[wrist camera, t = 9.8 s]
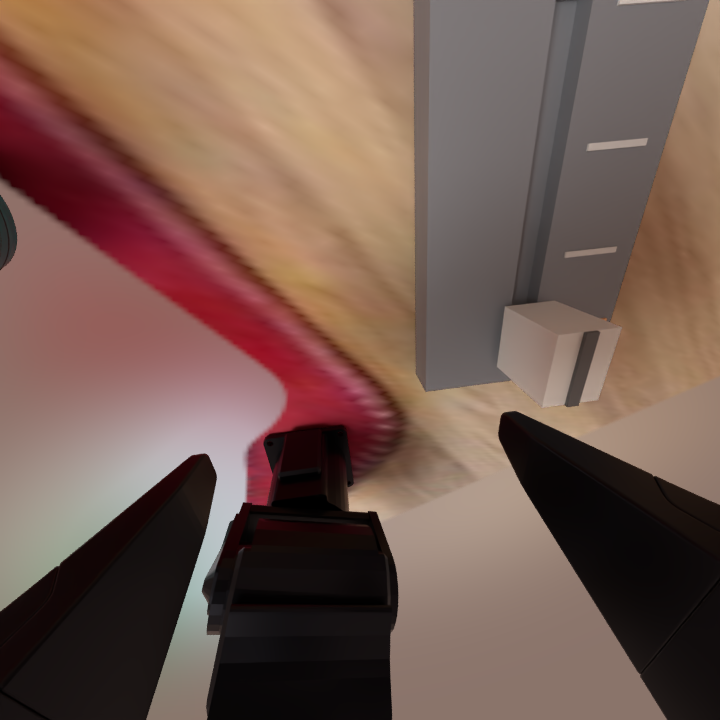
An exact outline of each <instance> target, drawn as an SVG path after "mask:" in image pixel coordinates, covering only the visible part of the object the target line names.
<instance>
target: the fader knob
mask: <svg viewBox="0 0 720 720" xmlns="http://www.w3.org/2000/svg"><path fill="white" fill-rule="evenodd" d="M621 329H622V327H621V326H618V325H616V324H613V323H610V322H608V321H605V320H603V319H600V318H598V317H595V316H593V315H590V314H588V313H585V312H582V311H580V310H577V309H575V308H572V307H570V306H567V305H565V304H562V303H559V302H557V301H546V302H538V303H530V304H522V305H513V306H505V310H504V317H503V325H502V332H501V339H500V347H499V354H498V362H497V367H498V368H499V369H500V370H501V371H502V372H503V373H504V374H505V375H506V376H508V377H509V378H510V379H511V380H512V381H513V382H514V383H515V384H516V385H517V386H518V387H519V388H521V389H522V390H523V391H524V392H525V393H526V394H527V395H528V396H529V397H530V398H531V399H533V400H534V401H535V402H536V403H537V404H538V405H539V406H540V407H541V408H545V407H552V406H559V405H565V406H566V407H572V406H579V403H581V402H588V401H596V400H598V399H599V396H600V393H601V390H602V387H603V384H604V381H605V378H606V375H607V372H608V369H609V366H610V363H611V360H612V357H613V354H614V351H615V348H616V345H617V342H618V339H619V335H620V332H621Z"/></svg>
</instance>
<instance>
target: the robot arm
mask: <svg viewBox="0 0 720 720" xmlns="http://www.w3.org/2000/svg"><path fill="white" fill-rule="evenodd" d="M338 432H342V433H338ZM498 436H499V440H500V442H501V444H502V446H503V449H504V451H505V453H506V455H507V457H508V459H509V461H510V463H511V465H512V467H513V469H514V470H515V473H516V475H517V477H518V479H519V481H520V483H521V485H522V486H523V488H524V490H525V492H526V493H527V495H528V497H529V498H530V500H531V501H532V503H533V505H534V506H535V508H536V509H537V511H538V513H539V514H540V516H541V517H542V519H543V521H544V522H545V524H546V525H547V527H548V529H549V530H550V532H551V533H552V535H553V537H554V538H555V540H556V542H557V543H558V545H559V546H560V548H561V550H562V551H563V553H564V554H565V556H566V558H567V559H568V561H569V562H570V564H571V566H572V567H573V569H574V570H575V572H576V574H577V575H578V577H579V578H580V580H581V582H582V583H583V585H584V586H585V588H586V590H587V591H588V593H589V594H590V596H591V597H592V599H593V601H594V603H595V604H596V606H597V607H598V609H599V611H600V612H601V614H602V615H603V617H604V619H605V620H606V622H607V623H608V625H609V627H610V628H611V630H612V631H613V633H614V635H615V636H616V638H617V640H618V641H619V642H620V644H621V646H622V648H623V649H624V650H625V652H626V654H627V656H628V657H629V659H630V660H631V662H632V664H633V665H634V667H635V668H636V670H637V672H638V673H639V674H641V675H640V677H641V678H642V680H643V682H644V683H645V685H646V687H647V688H648V690H649V691H650V693H651V694H652V696H653V698H654V699H655V701H656V703H657V704H658V706H659V707H660V709H661V711H662V712H663V714H664V715H665V717H666V718H667V720H720V505H719V504H717V503H714V502H712V501H709V500H707V499H705V498H702V497H700V496H698V495H696V494H694V493H691V492H689V491H687V490H685V489H682V488H680V487H678V486H676V485H674V484H672V483H669V482H667V481H665V480H663V479H661V478H658V477H657V476H654V477H653V475H652V474H650V473H648V472H646V471H644V470H642V469H639V468H637V467H635V466H633V465H631V464H629V463H626V462H624V461H622V460H620V459H618V458H616V457H614V456H611V455H609V454H607V453H605V452H603V451H601V450H598V449H596V448H594V447H592V446H590V445H588V444H586V443H584V442H581V441H579V440H577V439H575V438H573V437H571V436H569V435H566V434H564V433H562V432H560V431H558V430H556V429H554V428H551V427H549V426H547V425H545V424H543V423H541V422H539V421H536V420H534V419H532V418H530V417H528V416H526V415H524V414H521V413H519V412H517V411H511V412H505V413H503V414H502V415H501V419H500V425H499V432H498ZM269 441H271V442H272V443H270V442H269ZM264 447H265V451H266V454H267V457H268V460H269V463H270V467H271V470H272V473H273V477H272V482H271V487H270V492H269V496H268V501H267V506H264V505H252V503H243V505H242V507H241V510H240V512H239V514H236V516H235V518H234V520H233V521H231V522H230V523H229V526H228V529H227V532H226V536H225V539H224V542H223V545H222V547H221V549H220V552H219V554H218V555H217V558H216V559H215V561H214V563H213V565H212V567H211V569H210V570H209V572H208V574H207V576H206V578H205V580H204V584H203V588H202V593H203V595H204V597H205V598H206V600H207V602H208V610H207V615H209V617H208V624H207V635H220V639H219V644H218V649H217V653H216V659H215V663H214V668H213V673H212V678H211V683H210V688H209V693H208V698H207V705H206V709H207V716H208V718H207V720H392V704H391V703H392V702H391V683H390V633H391V632H392V631H393V629H394V626H395V623H396V618H397V611H398V581H397V572H396V567H395V563H394V559H393V556H392V553H391V551H390V548H389V545H388V543H387V540H386V537H385V534H384V532H383V529H382V526H381V523H380V521H379V518H378V515H377V512H372V511H368V513H365V512H350V511H349V502H348V488H347V487H350V486H352V485H353V483H354V482H353V474H352V467H351V460H350V453H349V446H348V439H347V432H346V428H345V427H343V426H335V427H328V428H320V429H313V430H305V431H298V432H291V433H283V434H276V435H269V436H267V437H265V439H264ZM216 480H217V475H216V472H215V469H214V467H213V465H212V462H211V460H210V458H209V456H208V455H207V454H198V455H192V456H190V457H189V458H188V459H187V460H185V461H184V462H183V463H182V464H180V465H179V466H178V467H177V468H176V469H174V470H173V471H172V472H171V473H169V474H168V475H167V476H166V477H165V478H163V479H162V480H161V481H160V482H159V483H157V484H156V485H155V486H154V487H152V488H151V489H150V490H149V491H148V492H146V493H145V494H144V495H143V496H142V497H140V498H139V499H138V500H137V501H136V502H135V503H133V504H132V505H131V506H129V507H128V508H127V509H126V510H124V512H122V513H121V514H120V515H119V516H117V517H116V518H115V519H114V520H112V521H111V522H110V523H109V524H107V525H106V526H105V527H104V528H103V529H101V530H100V531H99V532H98V533H96V534H95V535H94V536H93V537H92V538H90V539H89V540H88V541H87V542H86V543H84V544H83V545H82V546H81V547H79V548H78V549H77V550H76V551H75V552H73V553H72V554H71V555H70V556H69V557H67V558H66V559H65V560H64V561H63V562H61V563H60V566H56V567H55V568H54V569H53V570H51V571H50V572H49V573H48V574H46V575H45V576H44V577H43V578H42V579H40V580H39V581H38V582H37V583H36V584H34V585H33V586H32V587H31V588H29V589H28V590H27V591H26V592H25V593H23V594H22V595H21V596H19V597H18V598H17V599H16V600H14V601H13V602H12V603H11V604H9V605H8V606H7V607H6V608H4V609H3V610H2V611H0V720H146V718H147V715H148V712H149V709H150V705H151V702H152V699H153V696H154V693H155V690H156V687H157V684H158V680H159V677H160V674H161V671H162V668H163V665H164V661H165V658H166V655H167V652H168V649H169V646H170V643H171V640H172V637H173V633H174V630H175V627H176V624H177V620H178V618H179V614H180V611H181V608H182V604H183V602H184V599H185V596H186V593H187V590H188V586H189V583H190V580H191V577H192V574H193V571H194V568H195V564H196V561H197V558H198V555H199V552H200V549H201V545H202V542H203V539H204V536H205V532H206V528H207V524H208V519H209V514H210V509H211V505H212V500H213V495H214V490H215V486H216Z"/></svg>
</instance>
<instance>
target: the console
mask: <svg viewBox="0 0 720 720" xmlns="http://www.w3.org/2000/svg"><path fill="white" fill-rule="evenodd" d="M708 3H709V0H414V147H415V310H416V375H417V377H418V378H419V380H420V382H421V384H422V386H423V388H424V390H425V391H426V392H427V391H435V390H442V389H450V388H457V387H465V386H473V385H480V384H488V383H495V382H503V381H510V380H511V379H510V378H509V377H508V376H506V375H505V374H504V373H503V372H502V371H501V370H500V369H499V368H498V367H497V362H498V354H499V347H500V339H501V332H502V325H503V317H504V310H505V306H513V305H522V304H530V303H538V302H546V301H557V302H559V303H562V304H565V305H567V306H570V307H572V308H575V309H577V310H580V311H582V312H585V313H588V314H590V315H593V316H595V317H598V318H600V319H603V320H605V321H608V322H610V320H611V317H612V314H613V311H614V307H615V304H616V301H617V298H618V294H619V291H620V288H621V285H622V282H623V278H624V275H625V272H626V269H627V265H628V262H629V259H630V256H631V252H632V249H633V246H634V243H635V239H636V236H637V233H638V230H639V226H640V223H641V220H642V217H643V214H644V210H645V207H646V204H647V201H648V197H649V194H650V191H651V188H652V184H653V181H654V178H655V175H656V171H657V168H658V165H659V162H660V158H661V155H662V152H663V149H664V146H665V142H666V139H667V136H668V133H669V129H670V126H671V123H672V120H673V116H674V113H675V110H676V107H677V103H678V100H679V97H680V94H681V90H682V87H683V84H684V81H685V78H686V74H687V71H688V68H689V65H690V61H691V58H692V55H693V52H694V48H695V45H696V42H697V39H698V35H699V32H700V29H701V26H702V22H703V19H704V16H705V13H706V10H707V6H708Z"/></svg>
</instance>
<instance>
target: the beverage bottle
mask: <svg viewBox="0 0 720 720" xmlns="http://www.w3.org/2000/svg"><path fill="white" fill-rule="evenodd" d="M16 245H17V232H16V227H15V223H14V220H13V217H12V215H11V213H10V210H9V208H8V206H7V205H6V203H5V202H4V200H3V198H2V197H1V195H0V270H1V269H2V268H3V267H4V266H6V265H7V264H8V263H9V262H10V261H11V259H12V257H13V256H14V253H15V250H16Z"/></svg>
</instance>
